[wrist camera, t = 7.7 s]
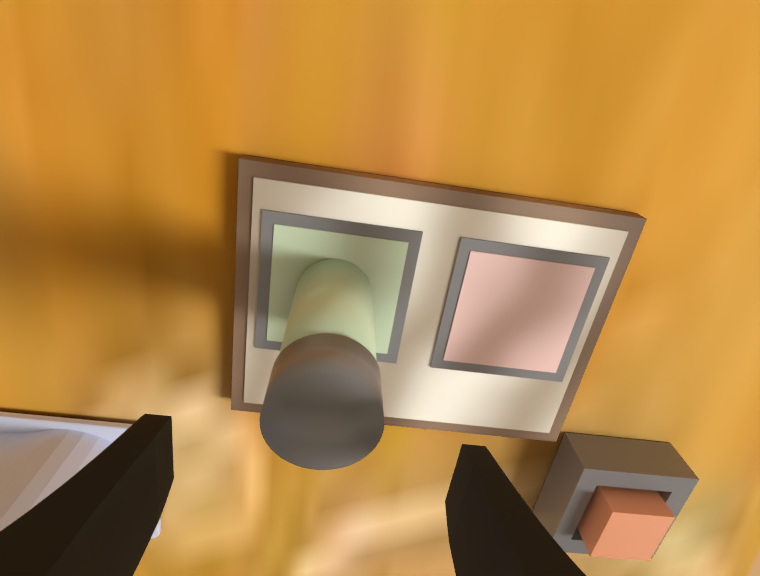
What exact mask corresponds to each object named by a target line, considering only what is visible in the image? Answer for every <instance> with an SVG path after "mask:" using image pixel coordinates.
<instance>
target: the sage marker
mask: <svg viewBox="0 0 760 576" xmlns="http://www.w3.org/2000/svg"><path fill="white" fill-rule="evenodd" d="M260 428H261V432H262V435H263V438H264V439H265V441H266V443H267V444H268V446H269V447H270V448H271V449H272V450H273V451H274V452H275V453H276V454H277V455H278V456H280V457H281V458H282V459H284V460H286V461H288V462H290V463H292V464H294V465H297V466H300V467H304V468H308V469H315V470H330V469H337V468H342V467H346V466H349V465H351V464H354V463H356V462H358V461H360V460H361V459H363V458H364V457H366V456H367V455H368V454H369V453H370V452H371V451H372V450H373V449H374V448H375V447H376V445H377V444H378V442H379V441H380V439H381V436H382V434H383V430H384V411H383V398H382V385H381V373H380V368H379V366H378V363H377V360H376V345H375V331H374V316H373V301H372V288H371V284H370V281H369V279H368V277H367V276H366V274H365V273H364V272H363V271H362V270H361V269H360V268H359V267H358V266H356V265H354V264H353V263H350V262H348V261H345V260H341V259H326V260H322V261H318V262H316V263H314V264H312V265H311V266H309V267H308V268H307V269H306V270H305V271H304V272H303V273H302V275H301V276H300V278H299V280H298V283H297V286H296V290H295V294H294V298H293V302H292V306H291V310H290V314H289V318H288V322H287V326H286V330H285V334H284V338H283V342H282V346H281V349H280V353H279V355H278V357H277V358H276V360H275V362H274V365H273V368H272V371H271V375H270V379H269V383H268V387H267V390H266V394H265V398H264V402H263V406H262V409H261V414H260Z"/></svg>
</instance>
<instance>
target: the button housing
mask: <svg viewBox="0 0 760 576" xmlns="http://www.w3.org/2000/svg"><path fill="white" fill-rule="evenodd" d="M698 480H699V479H698V477H697V476H696V475H695V473H694V472H693V471H692V470H691V468H690V467H689V466H688V465H687V463H686V462H685V461H684V460H683V458H682V457H681V456H680V455H679V453H678V452H677V451H676V450H675V448H674V447H673V446H672V444H671V443H666V442H656V441H646V440H636V439H626V438H616V437H607V436H597V435H587V434H577V433H567V432H565V434H564V436H563V438H562V441H561V443H560V446H559V448H558V450H557V453H556V455H555V458H554V460H553V463H552V465H551V467H550V470H549V472H548V475H547V477H546V480H545V482H544V484H543V487H542V489H541V492H540V494H539V496H538V499H537V501H536V504H535V506H534V509H533V513H534V514H535V516H536V517H537V518H538V520H539V521H540V522H541V524H542V525H543V526H544V527H545V529H546V530H547V531H548V532H549V534H550V535H551V536H552V537H553V539H554V540H555V541H556V542H557V543H558V544H559V546H560V547H561V548H562V549H563V550H564V552H569V553H583V554H589V553H588V550H587V548H586V546H585V544H584V542H583V539H582V537H581V535H580V533H579V531H578V528H577V526H578V524H579V522H580V520H581V517H582V515H583V513H584V511H585V509H586V507H587V505H588V503H589V501H590V499H591V497H592V494H593V492H594V490H595V488H596V486H597V485H599V486H611V487H622V488H633V489H644V490H655V491H658V493H659V494H660V496H661V497H662V499H663V500H664V501H665V503H666V504H667V506H668V507H669V509H670V510H671V512H672V513H673V515H674V516H675V519H676V517H677V516H678V514H679V512H680V511H681V509H682V507H683V506H684V504H685V502H686V501H687V499H688V497H689V496H690V494H691V492H692V490H693V489H694V487H695V485H696V484H697V482H698ZM675 519H674V521H675ZM674 521H673V522H674ZM673 522H672V524H673ZM672 524H671V526H672ZM671 526H670V527H671ZM670 527H669V529H670ZM669 529H668V531H669ZM668 531H667V532H668ZM667 532H666V534H667ZM666 534H665V536H666ZM665 536H664V537H665ZM664 537H663V539H664ZM663 539H662V541H663ZM662 541H661V542H662ZM661 542H660V544H661ZM660 544H659V546H660ZM659 546H658V547H659ZM658 547H657V549H658ZM657 549H656V551H657ZM656 551H655V552H656ZM655 552H654V554H655ZM654 554H653V556H654ZM653 556H652V557H653ZM652 557H651V559H652Z"/></svg>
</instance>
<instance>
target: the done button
mask: <svg viewBox="0 0 760 576" xmlns="http://www.w3.org/2000/svg"><path fill="white" fill-rule="evenodd" d="M674 519H675V516H674V515H673V513H672V512H671V510H670V509H669V507H668V506H667V504H666V503H665V501H664V500H663V499H662V497H661V496H660V494H659V493H658V491H655V490H644V489H633V488H622V487H611V486H599V485H597V486H596V488H595V490H594V492H593V494H592V497H591V499H590V501H589V503H588V505H587V507H586V509H585V511H584V513H583V515H582V517H581V520H580V522H579V524H578V526H577V528H578V531H579V533H580V535H581V537H582V539H583V542H584V544H585V546H586V548H587V550H588V553H589V555H590V556H592V557H605V558H618V559H632V560H645V561H650V559H651V557H652V556H653V554H654V552H655V551H656V549H657V547H658V546H659V544H660V542H661V541H662V539H663V537H664V536H665V534H666V532H667V531H668V529H669V527H670V526H671V524H672V522H673V521H674Z"/></svg>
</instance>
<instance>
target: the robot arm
mask: <svg viewBox="0 0 760 576" xmlns="http://www.w3.org/2000/svg"><path fill="white" fill-rule="evenodd" d="M173 479H174V471H173V445H172V418H171V416H163V415H152V414H144V415H143V416H142V417H140V418H139V419H138V420H137V421H136V422H135V423H134V424H127V423H116V422H106V421H95V420H84V419H74V418H63V417H52V416H42V415H31V414H20V413H10V412H0V576H133V574H134V572H135V570H136V568H137V566H138V564H139V562H140V560H141V558H142V556H143V554H144V551H145V549H146V547H147V545H148V543H149V541H150V539H151V538H156V537H157V536H158V535H159V533H160V531H161V514H162V511H163V508H164V506H165V503H166V500H167V497H168V494H169V491H170V488H171V485H172V482H173ZM445 504H446V516H447V527H448V536H449V544H450V549H451V554H452V559H453V563H454V568H455V573H456V576H586V575H585V574H584V573H583V572H582V571H581V570H580V569H579V568H578V566H577V565H576V564H575V563H574V562H573V561H572V560H571V559H570V557H569V556H568V555H567V554H566V553H565V552H564V550H563V549H562V548H561V547H560V546H559V544H558V543H557V542H556V541H555V540H554V539H553V537H552V536H551V535H550V534H549V532H548V531H547V530H546V529H545V527H544V526H543V525H542V524H541V522H540V521H539V520H538V518H537V517H536V516H535V514H534V513H533V512H532V510H531V509H530V508H529V506H528V505H527V504H526V502H525V501H524V500H523V498H522V497H521V496H520V494H519V493H518V492H517V490H516V489H515V487H514V486H513V485H512V483H511V482H510V480H509V479H508V478H507V476H506V475H505V473H504V472H503V470H502V469H501V468H500V466H499V465H498V463H497V462H496V460H495V459H494V458H493V456H492V455H491V453H490V452H489V450H488V449H487V448H486V446H477V445H466V444H462V447H461V450H460V453H459V457H458V460H457V463H456V467H455V470H454V473H453V477H452V480H451V483H450V487H449V490H448V494H447V497H446V500H445Z"/></svg>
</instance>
